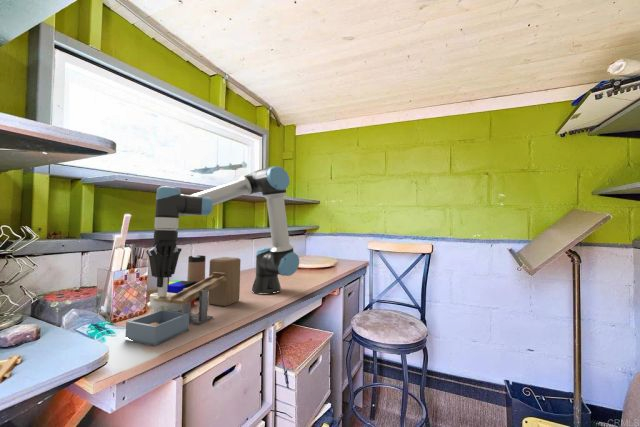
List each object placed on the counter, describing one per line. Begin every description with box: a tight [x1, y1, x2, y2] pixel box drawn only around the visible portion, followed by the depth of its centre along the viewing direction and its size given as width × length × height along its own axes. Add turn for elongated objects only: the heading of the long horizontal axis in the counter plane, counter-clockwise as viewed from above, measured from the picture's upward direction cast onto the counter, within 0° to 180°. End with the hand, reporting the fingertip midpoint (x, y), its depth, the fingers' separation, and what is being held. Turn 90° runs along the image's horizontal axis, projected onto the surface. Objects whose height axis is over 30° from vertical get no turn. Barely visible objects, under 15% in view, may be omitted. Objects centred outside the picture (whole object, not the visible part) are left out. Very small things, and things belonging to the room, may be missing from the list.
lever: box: [153, 272, 226, 305], centre depth 103 cm, size 22×14×3 cm, turn 162°
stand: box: [181, 287, 214, 326], centre depth 99 cm, size 7×11×11 cm, turn 72°
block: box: [208, 256, 242, 307], centre depth 121 cm, size 10×10×20 cm
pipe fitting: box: [146, 292, 168, 313], centre depth 103 cm, size 6×7×8 cm
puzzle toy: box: [162, 279, 196, 312], centre depth 114 cm, size 10×10×10 cm
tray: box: [125, 310, 190, 347], centre depth 84 cm, size 13×12×6 cm
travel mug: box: [186, 255, 206, 301], centre depth 127 cm, size 8×8×20 cm
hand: (162, 295), depth 95 cm, fingers closed
